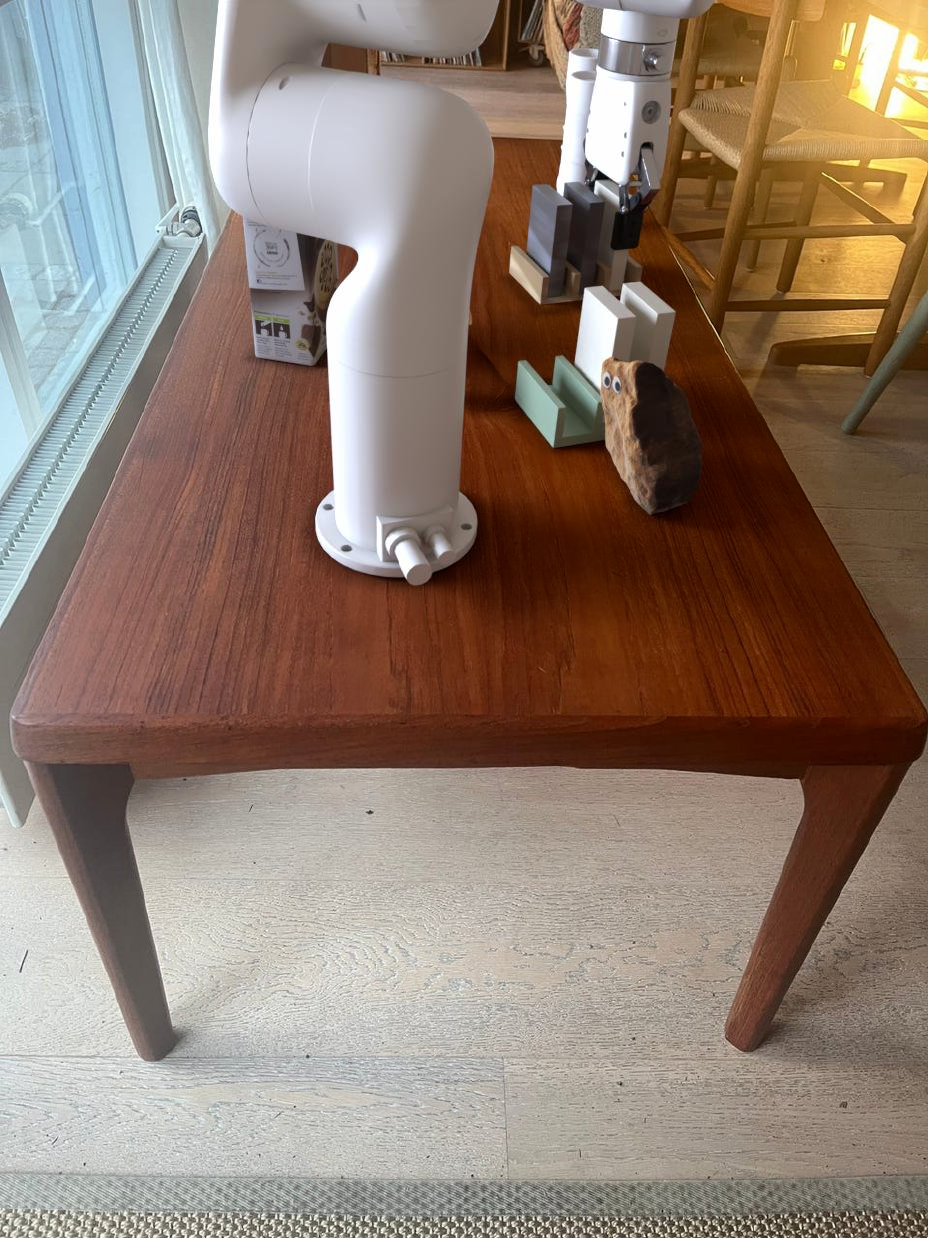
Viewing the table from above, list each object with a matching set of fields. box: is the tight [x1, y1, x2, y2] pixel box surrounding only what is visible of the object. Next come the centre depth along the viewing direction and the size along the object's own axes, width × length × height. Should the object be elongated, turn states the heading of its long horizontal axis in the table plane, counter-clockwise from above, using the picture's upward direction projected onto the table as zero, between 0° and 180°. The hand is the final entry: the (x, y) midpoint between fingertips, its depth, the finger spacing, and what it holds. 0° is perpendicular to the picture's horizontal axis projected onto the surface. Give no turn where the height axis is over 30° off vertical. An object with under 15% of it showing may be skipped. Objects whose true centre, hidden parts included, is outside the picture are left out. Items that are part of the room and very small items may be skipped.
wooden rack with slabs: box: [508, 182, 643, 305], centre depth 109 cm, size 12×9×11 cm
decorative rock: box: [600, 357, 703, 515], centre depth 80 cm, size 12×6×11 cm, turn 17°
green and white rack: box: [514, 281, 677, 449], centre depth 88 cm, size 12×9×11 cm
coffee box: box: [242, 217, 340, 367], centre depth 94 cm, size 9×6×16 cm
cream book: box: [594, 179, 633, 291], centre depth 109 cm, size 2×6×10 cm, turn 20°
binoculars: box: [556, 47, 599, 196], centre depth 125 cm, size 17×5×18 cm, turn 176°
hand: (609, 234), depth 109 cm, fingers closed on cream book, 6 cm apart
